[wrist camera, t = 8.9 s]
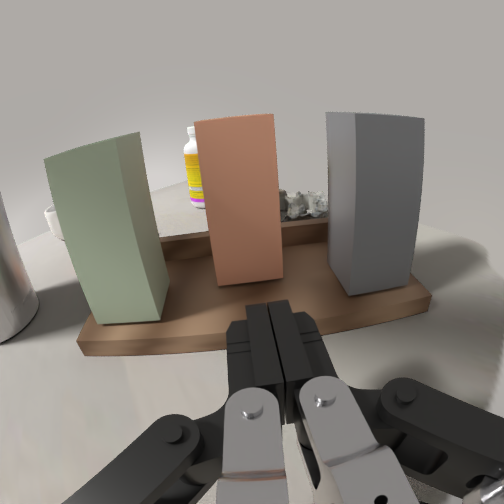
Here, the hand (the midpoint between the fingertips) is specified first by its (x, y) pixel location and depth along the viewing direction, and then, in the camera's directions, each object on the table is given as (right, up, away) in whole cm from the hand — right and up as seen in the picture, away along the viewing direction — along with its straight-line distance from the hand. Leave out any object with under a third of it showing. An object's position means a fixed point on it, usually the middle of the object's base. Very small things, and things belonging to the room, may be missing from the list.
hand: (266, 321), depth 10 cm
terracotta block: (-1, +1, +14) cm, 14 cm away
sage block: (-9, -1, +11) cm, 14 cm away
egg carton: (+5, +6, +27) cm, 28 cm away
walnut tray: (-1, -1, +14) cm, 14 cm away
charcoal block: (+8, +1, +12) cm, 14 cm away
